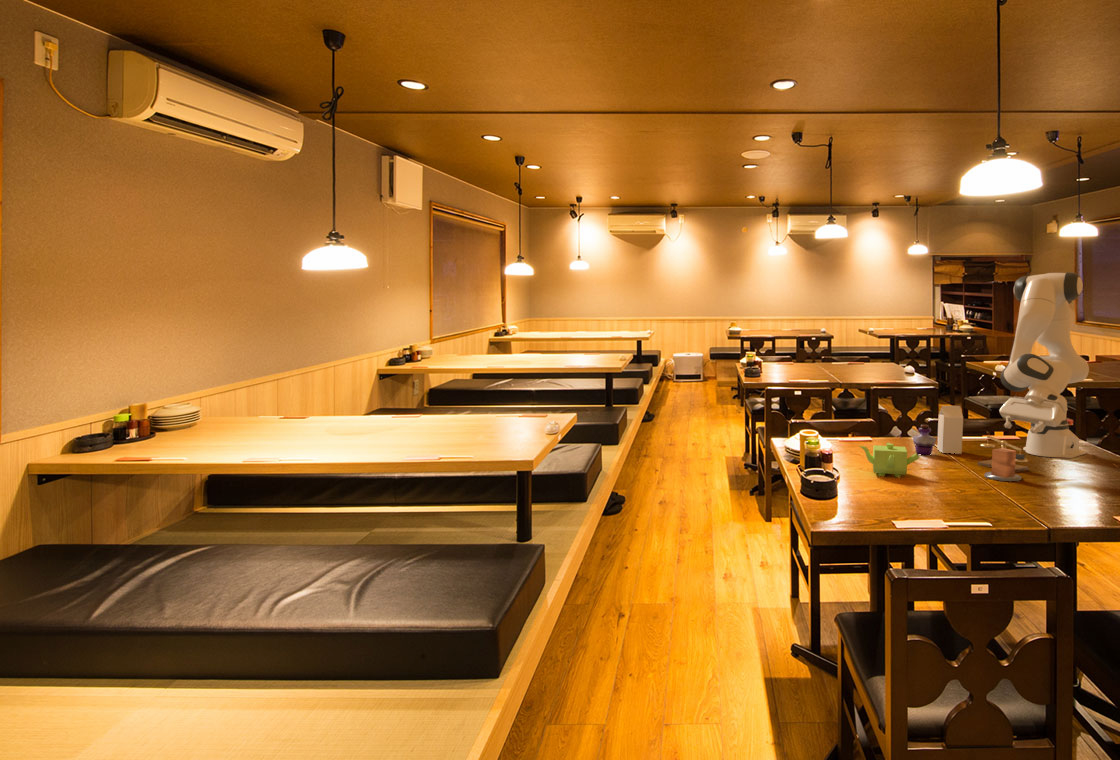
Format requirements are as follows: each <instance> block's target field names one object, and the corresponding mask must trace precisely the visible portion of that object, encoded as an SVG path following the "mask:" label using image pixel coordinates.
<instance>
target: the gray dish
mask: <svg viewBox="0 0 1120 760" xmlns="http://www.w3.org/2000/svg"><path fill="white" fill-rule="evenodd" d="M984 477H985V478H986V479H988V478H989V479H988V480H991V479H993V481H996V480H999V481H998V482H1004V481H1009V482H1008V483H1012V482H1011V481H1017V482H1021V481H1022V476H1021V475H1019V474H1016V473H1015V476H1013V477H1007V478H1003V477H999V476H995V475H991V471H987V472H985V473H984ZM1020 480H1021V481H1020Z"/></svg>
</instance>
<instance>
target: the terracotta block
mask: <svg viewBox="0 0 1120 760" xmlns="http://www.w3.org/2000/svg"><path fill="white" fill-rule="evenodd" d="M991 453H992V454H991V460H992V468H991V471H990V472H991V475H995V476H999V477H1003V478H1007V477H1013V476H1015V474H1016V472H1015V464H1016V462H1015V460H1016V454H1017V450H1016V449H1014V450H1013V449H1008V448H1006V449H1004V448H999V447H998V448H994V449H993V448H992V452H991Z"/></svg>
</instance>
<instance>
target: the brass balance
mask: <svg viewBox="0 0 1120 760" xmlns="http://www.w3.org/2000/svg"><path fill="white" fill-rule="evenodd" d="M986 438H987V441H986V442H987V443H980V444H979V446H980V447H982V448H988V449H993V448H994V449H995V448H996V444H992V443H989V440H993V441H995V442H996V443H999V444H1000V445H1001V448H1004V449H1007V447H1009V448H1011V449H1014V450H1015V451H1018V452H1019V453H1016V460H1015V473H1021V472H1025V471H1024V470H1027V471H1029V466H1025V465H1020V464H1016V463H1017V462H1018V463H1028V462H1029V459H1028V458H1025V454H1023V453H1021V452H1022V448H1020V447H1018V446H1015V445H1013V444H1010V443H1009V442H1008V441H1007V440H1001V439H999V438H995V437H994V436H991V435H987V436H986ZM977 465H978V466H980V465H981V467H985V466H987V467H986V468H990V467H992V459H987V460H980V461H979V460H978V461H977ZM1020 471H1021V472H1020Z"/></svg>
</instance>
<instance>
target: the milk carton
mask: <svg viewBox="0 0 1120 760" xmlns="http://www.w3.org/2000/svg"><path fill="white" fill-rule="evenodd" d="M937 421H938V423H937V445H936V446H937V447H936V448H937V449H938V450H939V451H938V450H937V449H936V450H937V451H938V452H940V453H941V452H942V453H941V454H943V453H951V454H952V455H953V454H954V453H955V454H954V455H962V454H963V453H962V451H963V434H964V433H963V432H964V431H963V430H964V429H963V428H964V416H963V411H962V407H961V405H941V408H940V410H939V413H938V420H937Z"/></svg>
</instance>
